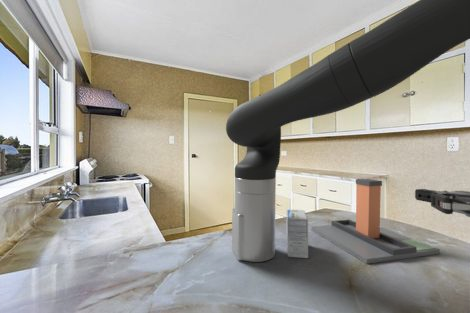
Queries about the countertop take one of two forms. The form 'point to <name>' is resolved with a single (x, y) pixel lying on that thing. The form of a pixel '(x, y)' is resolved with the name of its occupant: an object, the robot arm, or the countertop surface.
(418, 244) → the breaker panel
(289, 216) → the medicine box
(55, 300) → the countertop surface
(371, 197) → the handle
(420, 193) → the robot arm
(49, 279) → the countertop surface
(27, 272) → the countertop surface
